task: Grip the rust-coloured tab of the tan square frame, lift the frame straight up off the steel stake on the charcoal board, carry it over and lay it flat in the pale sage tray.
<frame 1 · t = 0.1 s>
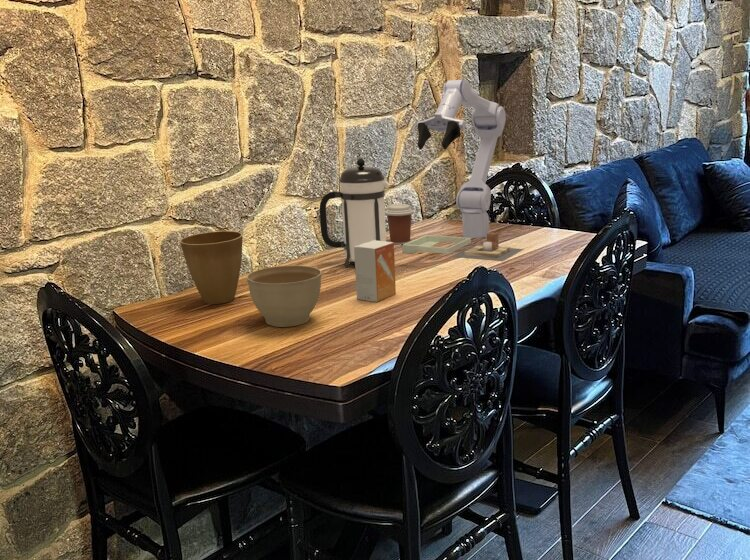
hand: (431, 146, 202), 32 cm above the table, tool tilted 50°, fingers open, 7 cm apart
stake board: (487, 256, 208), on the table
coffee press: (361, 264, 207), on the table
plant pot: (218, 301, 178), on the table
sage tray: (437, 249, 220), on the table
coffee cup: (400, 243, 233), on the table
small box: (376, 297, 174), on the table
tan square frame: (487, 252, 208), point 1 cm above the table, touching stake board
planter bowl: (288, 322, 158), on the table
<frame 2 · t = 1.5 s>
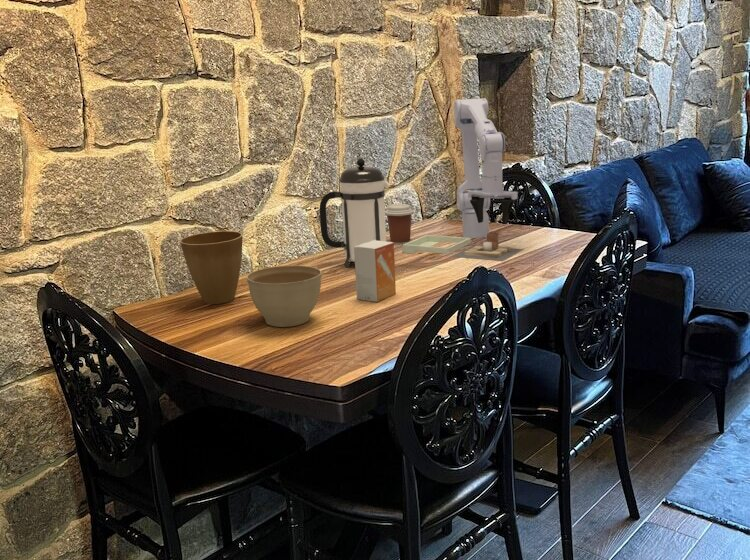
hand: (492, 223, 209), 9 cm above the table, tool pointing down, fingers open, 7 cm apart
nothing on the table moved.
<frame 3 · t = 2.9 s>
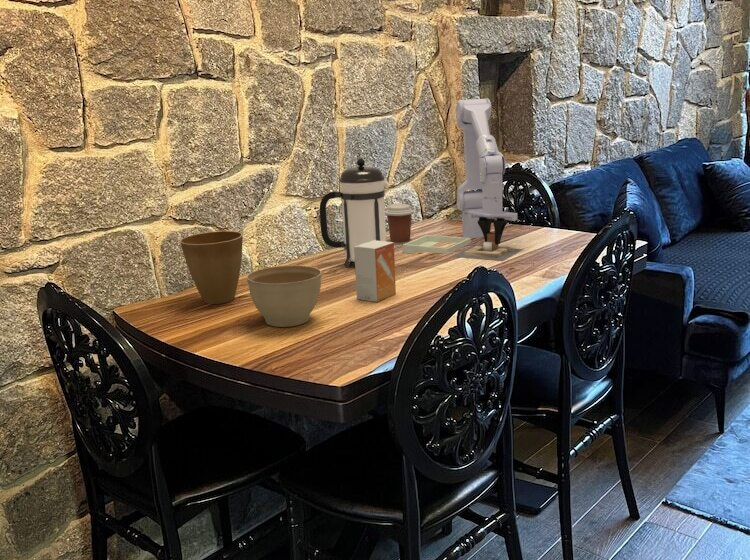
hand: (492, 243, 211), 3 cm above the table, tool pointing down, fingers closed on tan square frame, 2 cm apart
tan square frame: (487, 252, 208), point 1 cm above the table, touching gripper, stake board
everything else where it was.
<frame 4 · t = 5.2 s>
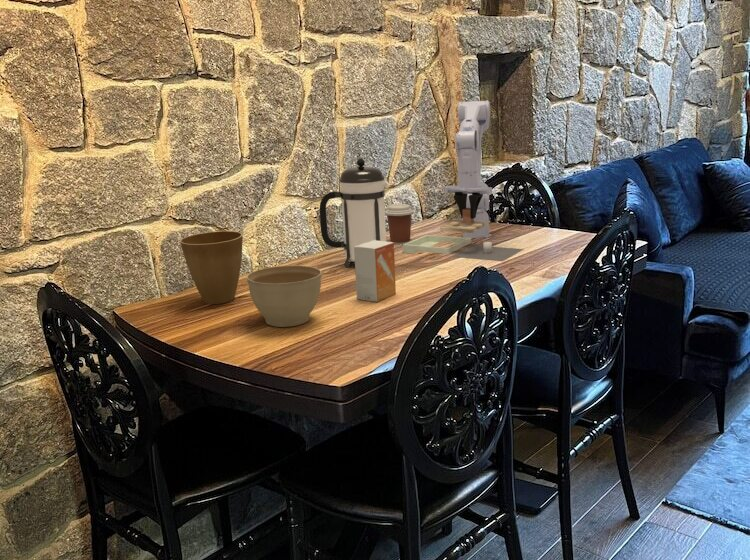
hand: (468, 217, 214), 10 cm above the table, tool pointing down, fingers closed on tan square frame, 2 cm apart
tan square frame: (463, 228, 212), point 8 cm above the table, touching gripper
everything else where it was.
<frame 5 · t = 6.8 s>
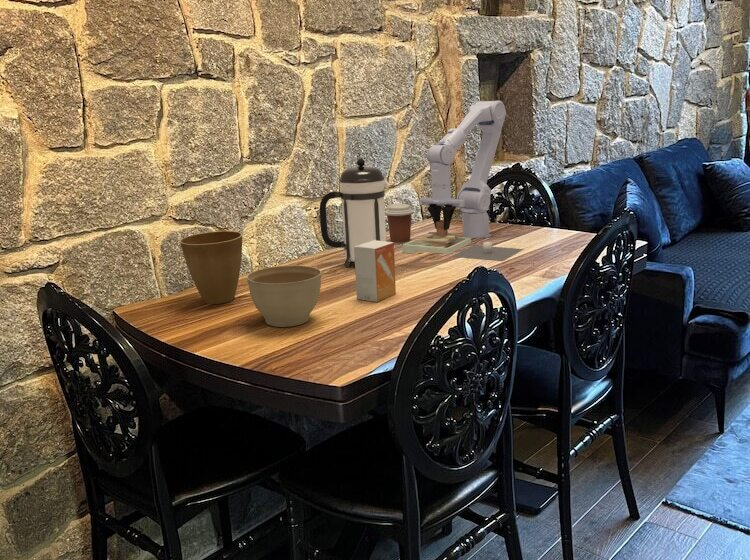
hand: (442, 228, 222), 6 cm above the table, tool pointing down, fingers closed on tan square frame, 2 cm apart
tan square frame: (436, 239, 219), point 3 cm above the table, touching gripper
everything else where it was.
when the fingers open (4 cm above the table, at t = 7.8 s): tan square frame stays where it is, resting on sage tray.
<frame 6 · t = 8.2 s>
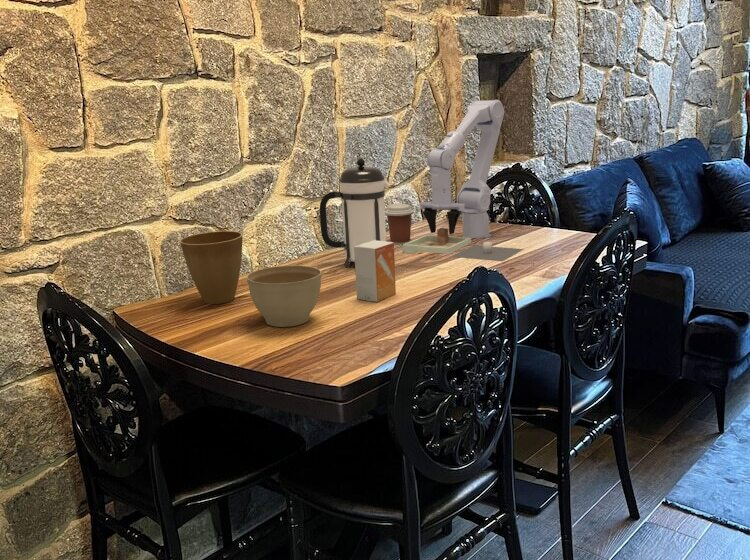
hand: (442, 232, 222), 4 cm above the table, tool pointing down, fingers open, 6 cm apart
tan square frame: (437, 247, 220), point 1 cm above the table, touching sage tray
everything else where it was.
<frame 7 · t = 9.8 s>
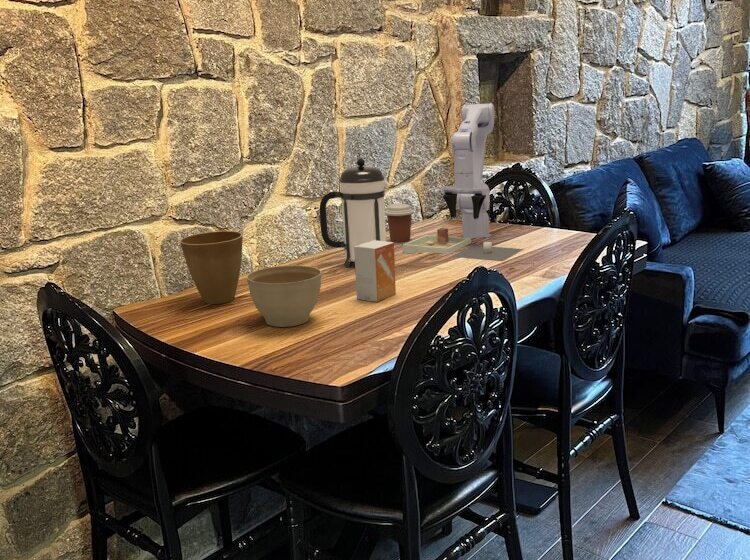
hand: (464, 217, 218), 9 cm above the table, tool pointing down, fingers open, 7 cm apart
nothing on the table moved.
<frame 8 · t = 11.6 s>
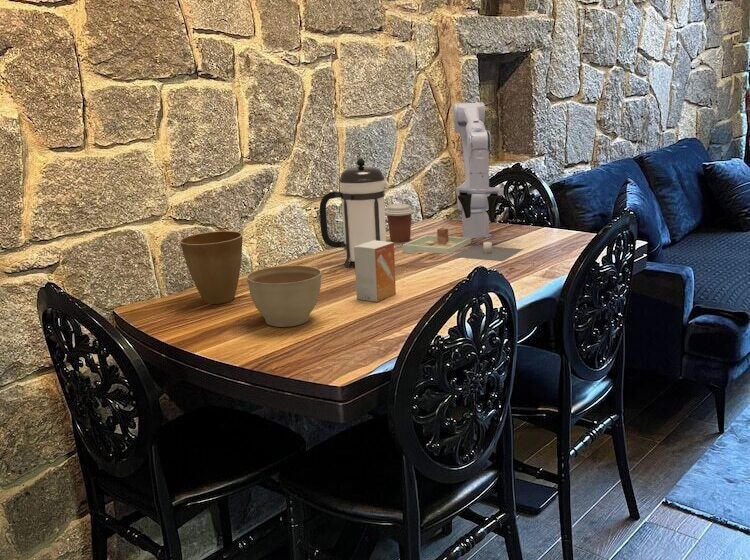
hand: (479, 218, 216), 9 cm above the table, tool pointing down, fingers open, 7 cm apart
nothing on the table moved.
at the end: tan square frame 0.2 cm off-centre on the sage tray, point 0.6 cm above the sage tray's base; tan square frame tilted 0°; the gripper is holding nothing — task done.
